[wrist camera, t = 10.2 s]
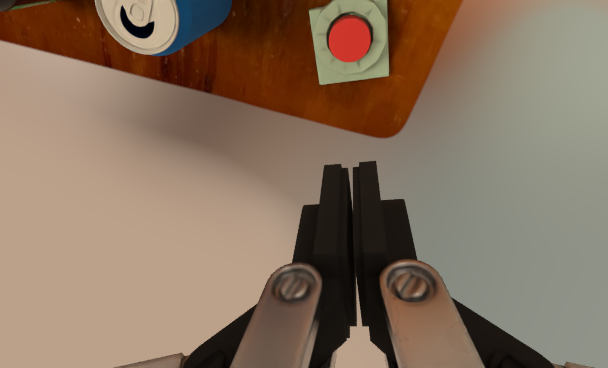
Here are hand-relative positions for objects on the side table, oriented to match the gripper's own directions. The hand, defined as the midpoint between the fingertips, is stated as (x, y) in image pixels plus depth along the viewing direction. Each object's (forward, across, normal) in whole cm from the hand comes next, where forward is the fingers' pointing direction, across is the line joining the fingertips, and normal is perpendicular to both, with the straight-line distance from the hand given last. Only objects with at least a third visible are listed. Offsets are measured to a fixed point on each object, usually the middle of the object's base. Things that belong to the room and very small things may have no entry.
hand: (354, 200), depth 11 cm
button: (+24, 0, -1) cm, 24 cm away
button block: (+26, 0, 0) cm, 26 cm away
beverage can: (+26, +14, -6) cm, 30 cm away
